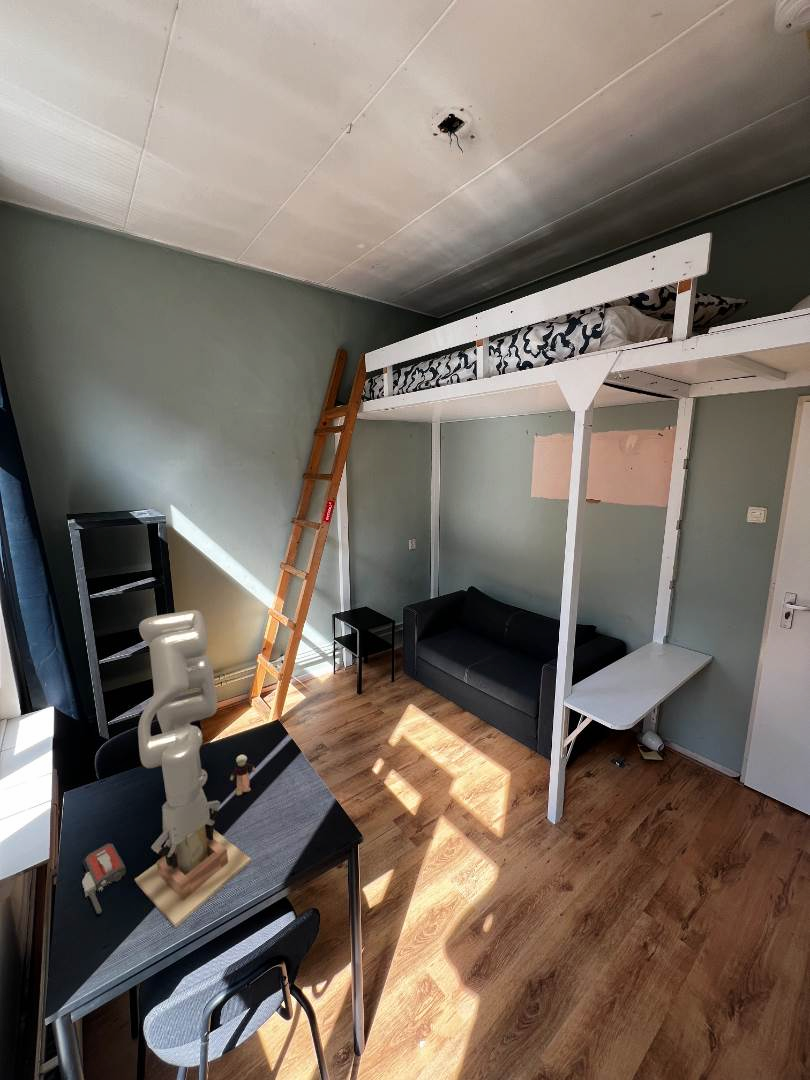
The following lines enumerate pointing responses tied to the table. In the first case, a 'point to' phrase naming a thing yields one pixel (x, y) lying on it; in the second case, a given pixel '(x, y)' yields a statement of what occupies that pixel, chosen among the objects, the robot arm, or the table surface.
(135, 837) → the table surface
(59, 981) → the table surface
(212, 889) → the socket stand
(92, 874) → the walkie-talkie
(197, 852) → the skincare box
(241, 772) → the grandmother figurine
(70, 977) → the table surface
